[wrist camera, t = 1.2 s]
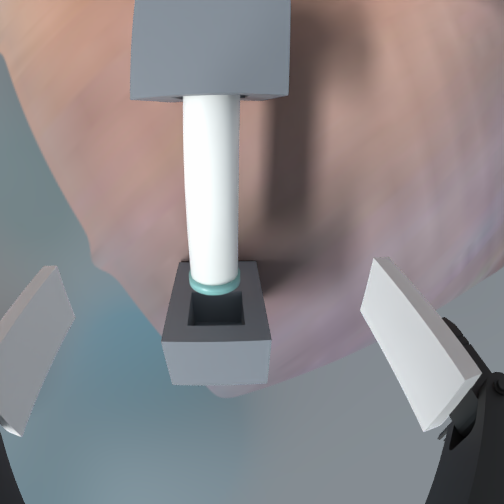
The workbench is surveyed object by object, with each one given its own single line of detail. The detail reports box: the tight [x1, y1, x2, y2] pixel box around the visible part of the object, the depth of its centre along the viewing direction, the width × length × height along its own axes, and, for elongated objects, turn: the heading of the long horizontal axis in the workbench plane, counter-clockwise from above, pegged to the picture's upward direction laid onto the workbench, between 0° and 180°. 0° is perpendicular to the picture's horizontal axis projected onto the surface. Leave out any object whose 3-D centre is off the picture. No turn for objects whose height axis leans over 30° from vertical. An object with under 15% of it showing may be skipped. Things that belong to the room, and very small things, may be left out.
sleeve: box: [130, 0, 291, 102], centre depth 18 cm, size 8×9×13 cm
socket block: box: [161, 261, 272, 385], centre depth 30 cm, size 6×9×13 cm, turn 88°
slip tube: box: [183, 95, 240, 295], centre depth 20 cm, size 25×4×4 cm, turn 178°
